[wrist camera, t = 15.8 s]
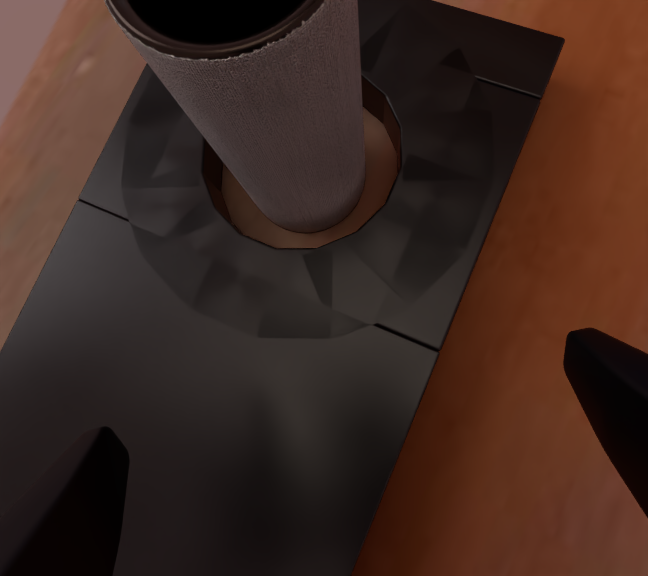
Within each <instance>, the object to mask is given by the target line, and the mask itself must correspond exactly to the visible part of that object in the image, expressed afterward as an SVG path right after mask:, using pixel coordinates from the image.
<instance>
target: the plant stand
mask: <svg viewBox="0 0 648 576" xmlns="http://www.w3.org/2000/svg"><path fill="white" fill-rule="evenodd" d="M357 1H358V22H359V43H360V64H361V85H362V105H363V106H364V107H365V108H366V109H367V110H369V111H370V112H371V113H372V114H373V115H374V116H375V117H377V118H378V119H379V120H380V121H381V122H382V123H383V124H384V125H385V128H386V130H387V132H388V134H389V136H390V138H391V141H392V143H393V145H394V147H395V149H396V151H397V176H396V179H395V181H394V183H393V186H392V188H391V190H390V193H389V195H388V197H387V200H386V202H385V204H384V205H383V206H382V207H381V208H380V209H379V210H378V211H377V212H376V213H375V214H374V215H373V216H372V217H371V218H370V219H369V220H368V221H367V222H366V223H365V224H364V225H363V226H362V227H360V228H359V229H358V230H357V231H356V232H355V233H352V234H350V235H347V236H345V237H343V238H340V239H338V240H335V241H333V242H330V243H328V244H326V245H323V246H321V247H318V248H278V249H277V248H275V247H272V246H270V245H267V244H265V243H262V242H260V241H257V240H255V239H252V238H250V237H248V236H245V235H243V234H242V233H241V232H240V231H239V230H238V229H237V228H236V227H235V226H234V225H233V224H232V222H231V219H230V216H229V213H228V211H227V208H226V205H225V203H224V200H223V197H222V194H221V176H222V160H221V159H220V157H219V156H218V155H217V153H216V152H215V151H214V149H213V148H212V147H211V146H210V144H209V143H208V142H207V140H206V139H205V138H204V136H203V135H202V134H201V133H200V131H199V130H198V129H197V127H196V126H195V125H194V123H193V122H192V121H191V119H190V118H189V117H188V116H187V114H186V113H185V112H184V110H183V109H182V108H181V106H180V105H179V104H178V103H177V101H176V100H175V99H174V97H173V96H172V95H171V93H170V92H169V91H168V90H167V88H166V87H165V86H164V84H163V83H162V82H161V80H160V79H159V78H158V76H157V75H156V74H155V73H154V71H153V70H152V69H151V67H150V66H149V65H148V63H147V64H146V66H145V68H144V70H143V72H142V74H141V76H140V78H139V80H138V82H137V84H136V86H135V87H134V89H133V91H132V93H131V95H130V97H129V99H128V101H127V103H126V105H125V107H124V109H123V111H122V113H121V115H120V117H119V119H118V121H117V123H116V125H115V127H114V129H113V131H112V133H111V135H110V137H109V139H108V141H107V143H106V145H105V147H104V149H103V151H102V153H101V154H100V156H99V158H98V160H97V162H96V164H95V166H94V168H93V170H92V172H91V174H90V176H89V178H88V180H87V182H86V184H85V186H84V188H83V190H82V192H81V194H80V196H79V200H77V202H76V204H75V206H74V208H73V210H72V212H71V214H70V216H69V218H68V220H67V222H66V224H65V226H64V228H63V230H62V232H61V234H60V235H59V237H58V239H57V241H56V243H55V245H54V247H53V249H52V251H51V253H50V255H49V257H48V259H47V261H46V263H45V265H44V267H43V269H42V271H41V273H40V275H39V277H38V279H37V281H36V283H35V285H34V287H33V289H32V291H31V293H30V295H29V297H28V299H27V301H26V302H25V304H24V306H23V308H22V310H21V312H20V314H19V316H18V318H17V320H16V322H15V324H14V326H13V328H12V330H11V332H10V334H9V336H8V338H7V340H6V342H5V344H4V346H3V348H2V350H1V352H0V517H1V516H2V515H3V514H4V513H5V512H6V511H7V510H8V509H9V508H10V507H11V506H12V505H13V504H14V503H15V502H16V501H17V500H18V499H19V498H20V497H21V496H22V495H23V494H24V493H25V492H26V491H27V490H28V489H29V488H30V487H31V486H32V485H33V484H34V483H35V482H36V481H37V480H38V479H39V478H40V477H41V476H42V475H43V473H44V472H45V471H46V470H47V469H48V468H49V467H50V466H51V465H52V464H53V463H54V462H55V461H56V460H57V459H58V458H59V457H60V456H61V455H62V454H63V453H64V452H65V451H66V450H67V449H68V448H69V447H70V446H71V445H72V444H73V443H74V442H75V441H76V440H77V439H78V438H79V437H80V436H81V435H82V434H83V433H84V432H85V431H86V430H89V429H93V428H97V427H102V426H108V427H110V428H111V429H112V430H113V431H114V432H115V434H116V435H117V436H118V438H119V439H120V440H121V442H122V443H123V444H124V446H125V447H126V448H127V450H128V453H129V458H130V463H129V472H128V480H127V489H126V497H125V506H124V515H123V523H122V530H121V537H120V542H119V548H118V553H117V557H116V562H115V566H114V571H113V575H112V576H351V574H352V571H353V569H354V566H355V564H356V561H357V559H358V556H359V554H360V551H361V549H362V546H363V544H364V541H365V539H366V536H367V534H368V531H369V529H370V526H371V524H372V521H373V519H374V516H375V514H376V511H377V509H378V507H379V504H380V502H381V499H382V497H383V494H384V492H385V489H386V487H387V484H388V482H389V479H390V477H391V474H392V472H393V469H394V467H395V464H396V462H397V459H398V457H399V454H400V452H401V449H402V447H403V444H404V442H405V439H406V437H407V434H408V432H409V429H410V427H411V424H412V422H413V419H414V417H415V414H416V412H417V409H418V407H419V404H420V402H421V399H422V397H423V394H424V392H425V389H426V387H427V384H428V382H429V379H430V377H431V374H432V372H433V369H434V367H435V364H436V362H437V359H438V357H439V354H440V352H439V351H440V350H441V349H442V346H443V344H444V341H445V339H446V336H447V334H448V331H449V329H450V326H451V324H452V322H453V319H454V317H455V314H456V312H457V309H458V307H459V304H460V302H461V299H462V297H463V294H464V292H465V289H466V287H467V284H468V282H469V279H470V277H471V274H472V272H473V269H474V267H475V264H476V262H477V259H478V257H479V254H480V252H481V249H482V247H483V244H484V242H485V239H486V237H487V234H488V232H489V229H490V227H491V224H492V222H493V219H494V217H495V214H496V212H497V209H498V207H499V204H500V202H501V199H502V197H503V194H504V192H505V189H506V187H507V184H508V182H509V179H510V177H511V174H512V172H513V169H514V167H515V164H516V162H517V159H518V157H519V154H520V152H521V149H522V147H523V144H524V142H525V139H526V137H527V134H528V132H529V129H530V127H531V124H532V122H533V119H534V117H535V114H536V112H537V109H538V107H539V104H540V100H541V99H542V97H543V94H544V92H545V89H546V87H547V84H548V82H549V79H550V77H551V75H552V72H553V70H554V67H555V65H556V62H557V60H558V57H559V55H560V52H561V50H562V47H563V45H564V42H565V39H564V38H561V37H558V36H554V35H551V34H547V33H544V32H540V31H537V30H533V29H530V28H526V27H523V26H520V25H516V24H513V23H509V22H506V21H502V20H499V19H495V18H492V17H488V16H485V15H481V14H478V13H474V12H471V11H467V10H464V9H460V8H457V7H453V6H450V5H446V4H443V3H439V2H436V1H432V0H357Z"/></svg>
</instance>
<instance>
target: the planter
mask: <svg viewBox="0 0 648 576" xmlns="http://www.w3.org/2000/svg"><path fill="white" fill-rule="evenodd" d="M104 1H105V4H106V6H107V8H108V10H109V12H110V13H111V15H112V17H113V18H114V20H115V21H116V23H117V24H118V25H119V27H120V28H121V29H122V31H123V32H124V33H125V35H126V36H127V37H128V39H129V40H130V41H131V42H132V44H133V45H134V46H135V48H136V49H137V50H138V52H139V53H140V54H141V56H142V57H143V58H144V60H145V61H146V62H147V63H148V65H149V66H150V67H151V69H152V70H153V71H154V73H155V74H156V75H157V76H158V78H159V79H160V80H161V82H162V83H163V84H164V86H165V87H166V88H167V90H168V91H169V92H170V93H171V95H172V96H173V97H174V99H175V100H176V101H177V103H178V104H179V105H180V106H181V108H182V109H183V110H184V112H185V113H186V114H187V116H188V117H189V118H190V119H191V121H192V122H193V123H194V125H195V126H196V127H197V129H198V130H199V131H200V133H201V134H202V135H203V136H204V138H205V139H206V140H207V142H208V143H209V144H210V146H211V147H212V148H213V149H214V151H215V152H216V153H217V155H218V156H219V157H220V159H221V160H222V161H223V162H224V164H225V165H226V166H227V168H228V169H229V170H230V172H231V173H232V174H233V176H234V177H235V178H236V179H237V181H238V182H239V183H240V185H241V186H242V187H243V189H244V190H245V191H246V192H247V194H248V195H249V196H250V198H251V199H252V200H253V202H254V203H255V204H256V206H257V207H258V208H259V209H260V210H261V212H262V213H263V214H264V215H265V216H266V217H267V218H269V219H270V220H271V221H272V222H273V223H275V224H276V225H278V226H280V227H282V228H284V229H287V230H290V231H295V232H305V233H307V232H316V231H321V230H324V229H327V228H330V227H332V226H334V225H335V224H337V223H339V222H340V221H342V220H343V219H344V218H345V217H346V216H347V215H348V214H349V213H350V212H351V211H352V210H353V209H354V207H355V206H356V204H357V203H358V201H359V199H360V197H361V194H362V191H363V188H364V182H365V148H364V127H363V106H362V85H361V64H360V43H359V22H358V1H357V0H104Z"/></svg>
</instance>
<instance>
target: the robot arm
mask: <svg viewBox="0 0 648 576" xmlns="http://www.w3.org/2000/svg"><path fill="white" fill-rule="evenodd" d="M563 365H564V371H565V374H566V376H567V378H568V380H569V382H570V384H571V386H572V388H573V390H574V392H575V394H576V396H577V398H578V400H579V402H580V404H581V406H582V408H583V410H584V412H585V414H586V416H587V418H588V420H589V422H590V424H591V426H592V428H593V430H594V432H595V434H596V436H597V438H598V440H599V442H600V443H601V445H602V447H603V449H604V451H605V452H606V454H607V455H608V457H609V459H610V460H611V462H612V463H613V465H614V467H615V468H616V470H617V471H618V473H619V474H620V476H621V477H622V479H623V481H624V482H625V484H626V485H627V487H628V488H629V490H630V491H631V493H632V495H633V496H634V498H635V499H636V501H637V502H638V504H639V505H640V507H641V508H642V510H643V512H644V513H645V515H646V516H647V518H648V354H647V353H645V352H643V351H641V350H639V349H637V348H634V347H632V346H630V345H628V344H626V343H624V342H622V341H620V340H618V339H616V338H614V337H612V336H609V335H607V334H605V333H603V332H601V331H599V330H597V329H594V328H585V329H580V330H575V331H571V332H569V333H568V335H567V338H566V345H565V353H564V361H563ZM129 463H130V458H129V453H128V450H127V448H126V447H125V446H124V444H123V443H122V442H121V440H120V439H119V438H118V436H117V435H116V434H115V432H114V431H113V430H112V429H111V428H110V427H108V426H102V427H97V428H93V429H89V430H86V431H85V432H84V433H83V434H82V435H81V436H80V437H79V438H78V439H77V440H76V441H75V442H74V443H73V444H72V445H71V446H70V447H69V448H68V449H67V450H66V451H65V452H64V453H63V454H62V455H61V456H60V457H59V458H58V459H57V460H56V461H55V462H54V463H53V464H52V465H51V466H50V467H49V468H48V469H47V470H46V471H45V472H44V473H43V475H42V476H41V477H40V478H39V479H38V480H37V481H36V482H35V483H34V484H33V485H32V486H31V487H30V488H29V489H28V490H27V491H26V492H25V493H24V494H23V495H22V496H21V497H20V498H19V499H18V500H17V501H16V502H15V503H14V504H13V505H12V506H11V507H10V508H9V509H8V510H7V511H6V512H5V513H4V514H3V515H2V516H1V517H0V576H112V575H113V571H114V566H115V562H116V557H117V553H118V548H119V542H120V537H121V530H122V523H123V515H124V506H125V497H126V489H127V480H128V472H129Z"/></svg>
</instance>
